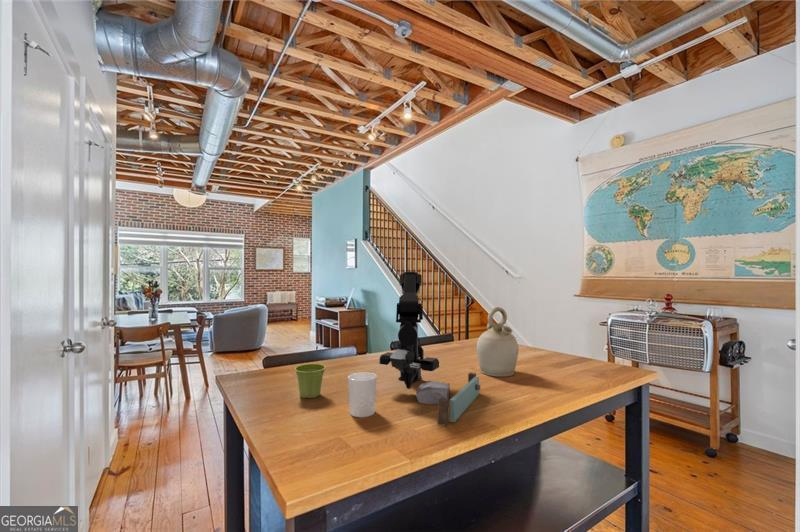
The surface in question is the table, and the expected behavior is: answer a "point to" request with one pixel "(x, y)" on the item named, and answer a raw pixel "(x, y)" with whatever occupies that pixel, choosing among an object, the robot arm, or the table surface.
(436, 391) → the stone block
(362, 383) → the white cup
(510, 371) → the jug
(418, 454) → the table surface
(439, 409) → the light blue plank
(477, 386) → the gate
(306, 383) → the plant pot
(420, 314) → the robot arm
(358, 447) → the table surface
